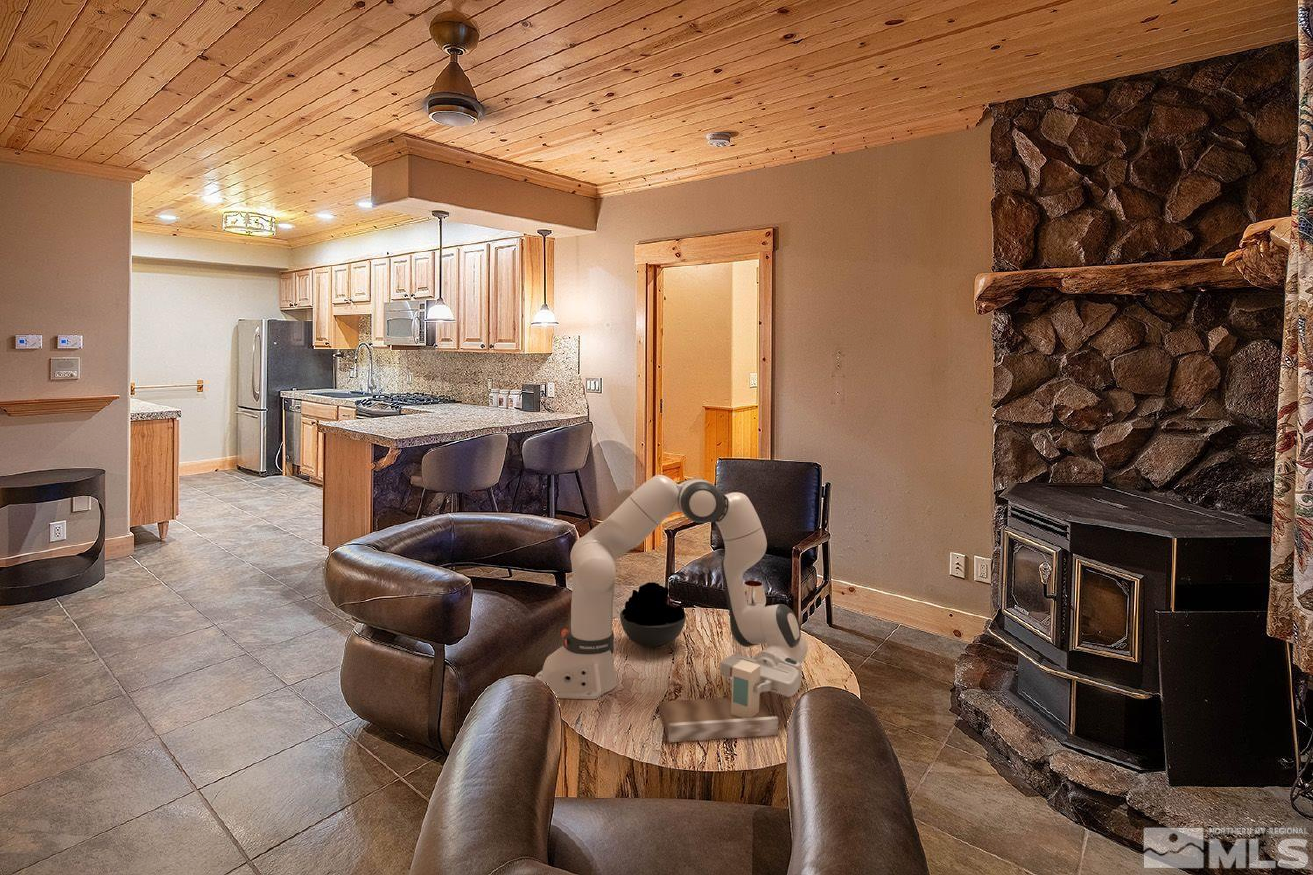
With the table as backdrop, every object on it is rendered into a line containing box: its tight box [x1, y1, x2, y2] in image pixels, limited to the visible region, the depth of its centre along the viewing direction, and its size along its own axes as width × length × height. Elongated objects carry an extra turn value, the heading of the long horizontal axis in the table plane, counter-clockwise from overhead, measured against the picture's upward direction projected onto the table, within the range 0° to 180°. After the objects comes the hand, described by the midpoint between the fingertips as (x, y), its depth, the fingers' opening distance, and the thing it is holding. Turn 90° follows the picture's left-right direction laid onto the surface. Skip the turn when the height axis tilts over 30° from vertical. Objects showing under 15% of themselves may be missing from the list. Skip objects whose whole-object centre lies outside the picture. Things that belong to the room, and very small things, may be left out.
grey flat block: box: [658, 696, 779, 743], centre depth 170 cm, size 26×16×4 cm, turn 99°
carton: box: [731, 660, 761, 718], centre depth 170 cm, size 5×5×12 cm
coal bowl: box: [619, 581, 687, 650], centre depth 212 cm, size 20×20×19 cm
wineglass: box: [743, 580, 767, 608], centre depth 219 cm, size 8×8×18 cm
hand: (744, 686), depth 169 cm, fingers closed on carton, 5 cm apart
